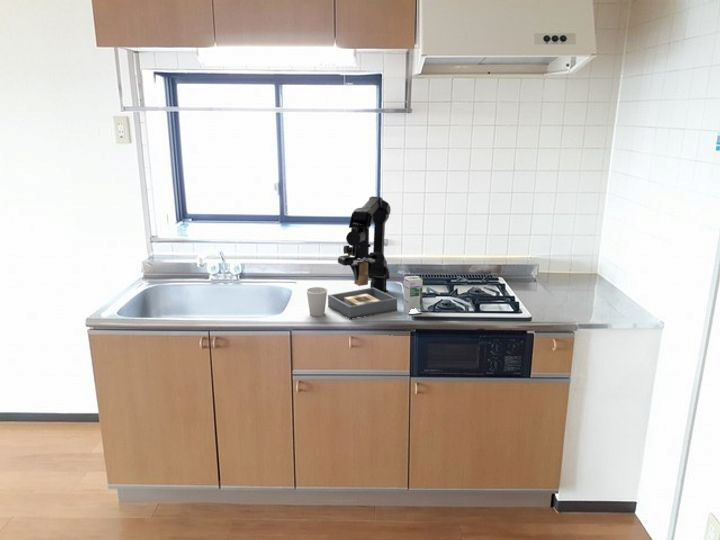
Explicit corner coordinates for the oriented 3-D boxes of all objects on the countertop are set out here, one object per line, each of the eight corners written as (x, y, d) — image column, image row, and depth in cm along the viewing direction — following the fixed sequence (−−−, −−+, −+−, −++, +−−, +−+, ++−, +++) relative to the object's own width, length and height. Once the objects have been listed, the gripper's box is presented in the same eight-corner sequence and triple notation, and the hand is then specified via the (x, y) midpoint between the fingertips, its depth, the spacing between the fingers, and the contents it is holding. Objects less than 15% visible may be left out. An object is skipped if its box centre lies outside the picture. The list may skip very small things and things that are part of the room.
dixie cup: (309, 310, 217) (309, 286, 214) (329, 311, 215) (329, 287, 213) (304, 317, 209) (303, 292, 206) (325, 318, 207) (325, 293, 205)
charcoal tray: (373, 298, 232) (373, 287, 231) (396, 310, 217) (397, 298, 216) (328, 306, 221) (328, 295, 220) (349, 319, 206) (349, 307, 205)
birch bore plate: (366, 300, 226) (366, 293, 225) (380, 307, 217) (381, 300, 216) (343, 304, 221) (343, 297, 220) (357, 312, 211) (357, 305, 211)
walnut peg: (362, 282, 220) (363, 260, 217) (367, 284, 216) (368, 262, 214) (354, 283, 218) (354, 261, 215) (359, 285, 214) (359, 264, 212)
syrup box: (408, 315, 211) (409, 280, 208) (403, 310, 217) (404, 276, 213) (421, 314, 213) (423, 278, 209) (416, 309, 218) (417, 275, 215)
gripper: (371, 235, 224) (370, 272, 228) (331, 239, 215) (331, 277, 219) (385, 240, 215) (384, 278, 218) (344, 244, 205) (344, 284, 209)
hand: (361, 279), depth 216 cm, fingers closed on walnut peg, 4 cm apart
